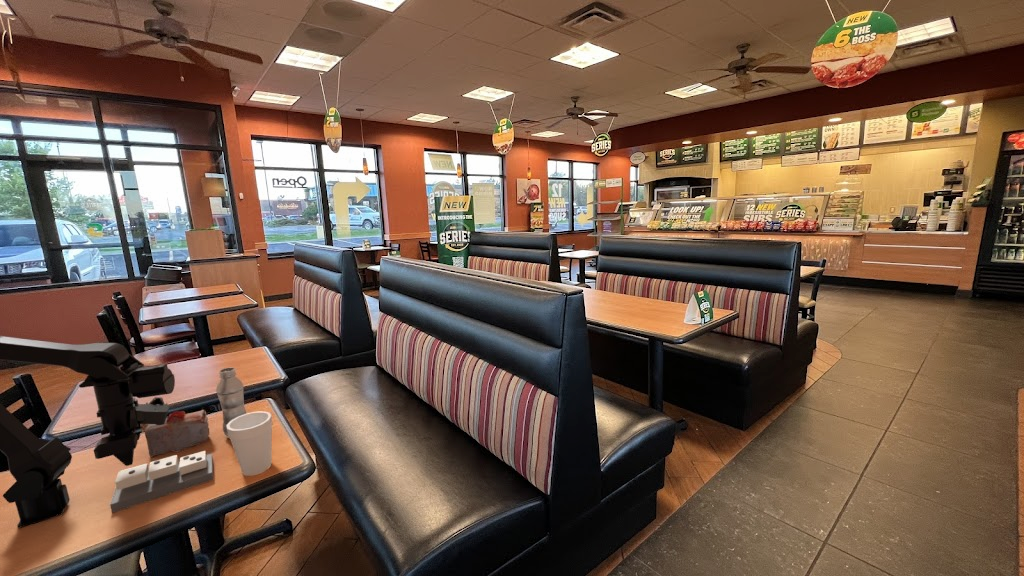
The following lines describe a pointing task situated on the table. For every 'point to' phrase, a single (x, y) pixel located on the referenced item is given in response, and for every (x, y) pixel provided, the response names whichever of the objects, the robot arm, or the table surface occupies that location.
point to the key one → (132, 476)
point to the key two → (163, 467)
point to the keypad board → (160, 486)
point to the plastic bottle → (230, 396)
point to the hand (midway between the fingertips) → (129, 464)
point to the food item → (177, 432)
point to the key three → (193, 462)
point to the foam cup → (252, 441)
